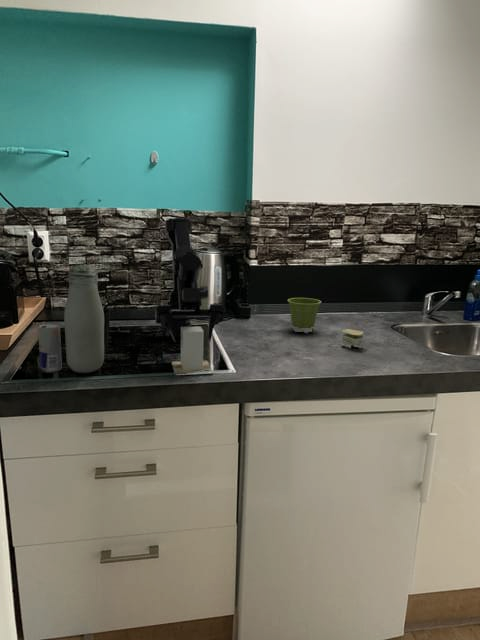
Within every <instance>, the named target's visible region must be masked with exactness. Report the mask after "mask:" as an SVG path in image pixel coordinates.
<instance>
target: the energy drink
mask: <svg viewBox="0 0 480 640" xmlns="http://www.w3.org/2000/svg"><path fill="white" fill-rule="evenodd" d="M37 333H38V346H39V348H38V349H39V363H40V365H39V366H40V370H41V372H42V373H50V374H51V373H56V372H57V373H58V372H60V371H61V370H62V369H63V363H62V362H63V360H62V359H63V358H62V342H61V339H62V338H61V327H60V325H59V324H58V323H43V324H40V325H38V331H37Z"/></svg>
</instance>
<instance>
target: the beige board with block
mask: <svg viewBox="0 0 480 640" xmlns="http://www.w3.org/2000/svg"><path fill="white" fill-rule="evenodd" d="M171 366H173V367H172V370H174V371H173V374H174V373H175V375H176V374H177V375H178V374H187V373H194V372H198V371H205V370H210V371H211V372H212V371H213V370H212V367H211V365H210V363H209V361H208V360H206V359H205V360H203V370H183V369H182V366H181V360H180V361H171ZM175 375H174V376H175Z"/></svg>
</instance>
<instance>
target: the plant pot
mask: <svg viewBox="0 0 480 640" xmlns="http://www.w3.org/2000/svg"><path fill="white" fill-rule="evenodd" d="M287 302H288V305H289V310H290V317H291V326H292V325H293V326H294V327H298V328H311V327H314V328H315V323H316V318H317V314H318V311H319V309H320V304H322V301H321V300H320V299H316V298H310V297H309V298H308V297H291V298H288V299H287Z"/></svg>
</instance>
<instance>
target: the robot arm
mask: <svg viewBox="0 0 480 640" xmlns="http://www.w3.org/2000/svg"><path fill="white" fill-rule="evenodd" d="M164 232H165V233H166V237H167V240H168V242H169V244H170V245H171V247H172V248H171V249H172V250H171V252H172V260H171V261H172V262H171V266H172V284H173V285H172V287H173V289H172V292H171V293H170V295H169V297H168V301H167V302H166V304H157V305H156V307H155V316H154V317H155V324H158V325H160V326H161V327H164V328H165V329H166V330H167V331H168V334H167V335H166V338H169V337H172V338H171V339H172V340H173V342H174V343H176V342H177V339H176V338H181V327H192V323H191V321H193V320H194V319H195V318H199V317H200V318H205V317H207V318H208V321H207V338H208V341H209V342H210V341H211V340H212V335H213V332H214V331H213V330H214V329H215V326H218V325H219V323H222V322H223V321H224V318H225V315H226V306H225V305H224V304H223V303H210V304H209V308H208V309H205V308H203V309H202V308H201V307H202V299H204V300H206V299H208V298H209V289H208V285H201V286H200V287H199V284H198V280H199V278H200V273H201V270H202V269H203V268H204V265H203V263H202V260H201V258H200V257H199V256H198V255H197V251H195V250H194V249H193V248H192V246H191V238H190V234H191V233H192V232H193V221H192V220H191V219H189V218H186V217H174V218H172V217H169V218H168V219H167V220H165V223H164Z"/></svg>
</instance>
